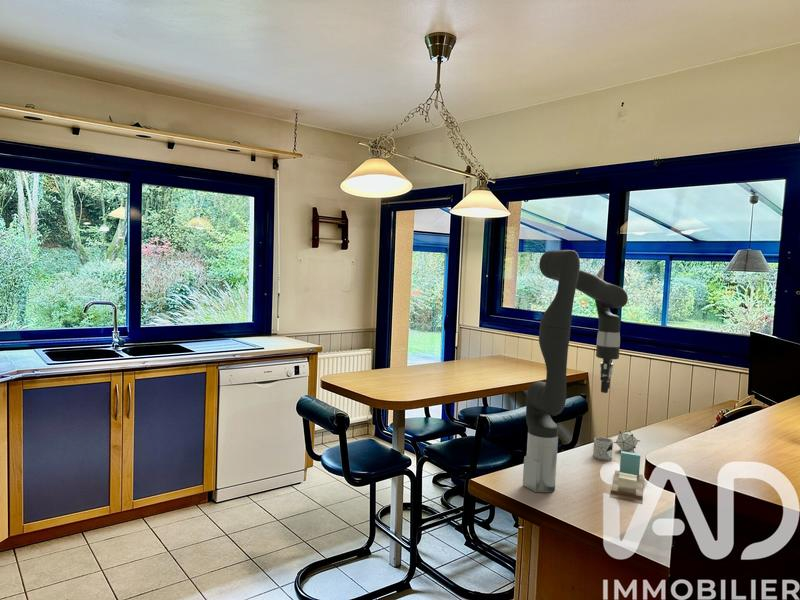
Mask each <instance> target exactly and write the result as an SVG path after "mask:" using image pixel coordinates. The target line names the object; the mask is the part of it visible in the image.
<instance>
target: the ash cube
mask: <svg viewBox="0 0 800 600" xmlns="http://www.w3.org/2000/svg"><path fill="white" fill-rule="evenodd" d="M636 484H637V475H632V474H627V473H621V472H620V473H619V480H618V491H621V492H626V493H631V494H636Z"/></svg>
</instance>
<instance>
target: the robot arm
mask: <svg viewBox="0 0 800 600" xmlns="http://www.w3.org/2000/svg"><path fill="white" fill-rule="evenodd" d="M538 267H539V270H540V273H541V274H542V275H543V276H544V277H545V278H548V279H550V280H553V281H558V285H557V288H556V289H557V290H556V294H555V296H554V298H553V300H552V301H551V303H550V304H549V306H548V307H547V309H545V312H544V313H543V315H542V317H541V319H540V323H539V331H538V343H539V347H540V351H541V354H542V357H543V360H544V363H545V369H546V378H545V381H540V380H539V381H534V382H533V383H531V384H530V385H529V387H528V389H527V393H526V397H525V398H526V399H525V404H526V405H525V413H526V414H525V419H526V421H525V422H526V425H527V442H526V455H525V456H524V458H523V470H522V471H523V474H522V486H523V487H525V488H527V489H529V490H530V491H532V492H534V493H552V492H554V491H555V490H556V478H557V460H558V443H559V426H558V425H557V424H556V422H555V421H554V420H553V419H552V416H553V417H554V416H558V415H559V414H561V413H562V411H563V410H564V408H565V406H566V401H567V369H568V368H567V365H568V355H569V354H568V353H569V346H570V345H569V343H570V337H571V328H572V326H571V325H572V314H573V309H574V308H573V306H574V299H575V295H576V290H577V291H579V292H581V293H583V294H585V295H586V296H588V297H589V298H591V299H592V300H594V302H595V306H596V312H597V316H598V317H597V318H598V330H597V337H596V348H595V351H596V352H595V356H596V358H598V359H601V360H602V362H600V366H599V367H600V372H599V373H600V374H599V375H600V377H599V379H600V382H601V383H600V384H601V385H600V392H601V393H602V394H607V393H609V389H610V388H611V378H612V375H613V369H614V363H613V360H619V358H620V347H621V346H620V345H621V336H620V335H621V318H620V316H619V315H617V314H613V313H612V312H611V309H621V308H624V307H625V306H626V304H627V303H628V300H629V297H628V294H627V292H626V290H624V288H622V287H621V286H618V285H616V284H613V283H610V282H607V281H605V280H604V279H602V278H600V277H599V276H597V275H596V274H594V273H591V272H588V271H585V270H583V269H581V261H580V256H579V254H578V252H577V251H576V250H572V249H561V250H560V249H558V250H557V249H551V250H547V251H545V252H544V253H542V255H541V256H540V259H539V266H538Z"/></svg>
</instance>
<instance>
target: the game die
mask: <svg viewBox="0 0 800 600" xmlns="http://www.w3.org/2000/svg"><path fill="white" fill-rule="evenodd" d="M618 432H619V435H617V439H616V440H615V441H613V444H616V445H617V446H618V447H619V448H620V450H621V451H624V452H632V453H635V451H634V450H635V449H636V448H637V447H636V446H637V444H638V442H641V440H639V439H637V438H636V437H635V436H634V434H633V433H632V432H631V430H628V432H621V430H619V431H618Z"/></svg>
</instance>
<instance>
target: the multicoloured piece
mask: <svg viewBox="0 0 800 600" xmlns="http://www.w3.org/2000/svg"><path fill="white" fill-rule="evenodd" d="M619 461H620V463H619V470H617V469H614V470H615V471H614V474H613V479H612V484H611V487H610V488H611V489H610V491H609V498H611V499H614V500H615V499H616V500H619V501H620V500H621V501H625V502H629V503H630V502H631V503H635V504H640V505H643V504H644V503H643V501H644V485H645V484H644V481H645V480H644V479H645V476H644V477H643V474H640V466H641V453H635V452H631V451H625V452H624V451H623V450H621V451H620V460H619ZM620 472H621V473H627V474H632V475H637V484H636V494H631V493H626V492H621V491H618V480H619V473H620Z"/></svg>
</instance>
